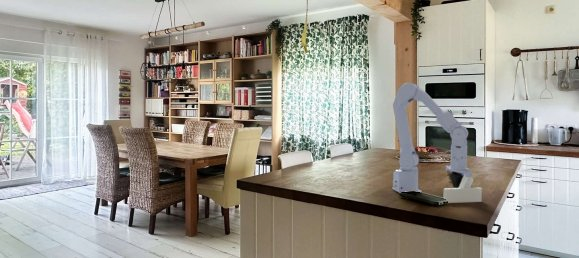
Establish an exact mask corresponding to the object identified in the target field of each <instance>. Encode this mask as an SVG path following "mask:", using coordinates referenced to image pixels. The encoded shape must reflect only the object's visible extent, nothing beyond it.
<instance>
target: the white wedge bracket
mask: <svg viewBox="0 0 579 258" xmlns="http://www.w3.org/2000/svg"><path fill="white" fill-rule="evenodd" d="M465 176H466V174H464V176H463V179H462V181H461V183H460V186H459V188H472V184H473V182H474V180H475V179H474V178H473V176H472V177H465Z"/></svg>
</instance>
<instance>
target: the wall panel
mask: <svg viewBox="0 0 579 258" xmlns="http://www.w3.org/2000/svg"><path fill="white" fill-rule="evenodd" d="M482 194H483V188H482V187H477V186H476V187H470V188H453V187H450V188H449V187H448V188H446V187H445V188H443V198H444V199H446V200H447V201H448V203H447V204H453V203H454V204H455V203H456V204H457V203H479V202H480V203H481V202H482V201H483V200H482V199H483V198H482V196H483V195H482Z"/></svg>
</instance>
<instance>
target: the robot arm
mask: <svg viewBox="0 0 579 258" xmlns="http://www.w3.org/2000/svg"><path fill="white" fill-rule="evenodd" d="M414 100H415V101H418V102H421V103H423V104H424V106H426V107H427V108H428V110H429V111H431V112H432V113H433V115H435V117H436V119H435V121H436V122H437V123H438V124H439V125H440V126H441V128H442V129H444V131H446V133H449V136H450V139H451V145H450V165H445V171H446V172H447V171H451V172H453V173H452V174H449V176H450V178H451V181H452V182H451V183H452V188H459V186H460V183H461V181H462V179H463V176H464V174H466V176H465V177H472V178H473V171H470V168H468V167H467V166H468V161H467V160H468V139H467V138H468V136H469V131H468V129H467V127H466V126H463V123H462V122H459V120H457V118H456V117H455V116H454V112H450V111H448V110H443V109H442V108H441V107H440V106H439V104H437V103H436V102H435V100H434V99H433V98H432V97H431V96H430V95H429V94H428V93H427V92H426V91H425V90H424V89H422V88H421V87H419V86H418V85H417V84H415V83H412V82H405V83H403V84H402V85H401V86H400V87H399V88H398V89H397V91H396V95H395V98H394V100H393V102H392V103H393V104H392V108H393V113H394V120H395V124H396V125H395V126H396V130H397V135H398V140H399V141H398V142H399V147H400V149H399V159H398V164H399V166H400V167H399V169H394V171H393V173H392V174H393V175H392V190H393V191H395V192H397V193H399V194H402V193H401V192H405V191H416V192H420V193H422V190H420V189H419V168H418V166H417V165H419V162H420V157H419V155H418V154H417V152H416V149H415V146H414V145H413V139H412V133H411V129H410V123H409V122H410V121H409V116H408V111H407V107H408V106H409V104H411V102H412V101H414Z"/></svg>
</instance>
